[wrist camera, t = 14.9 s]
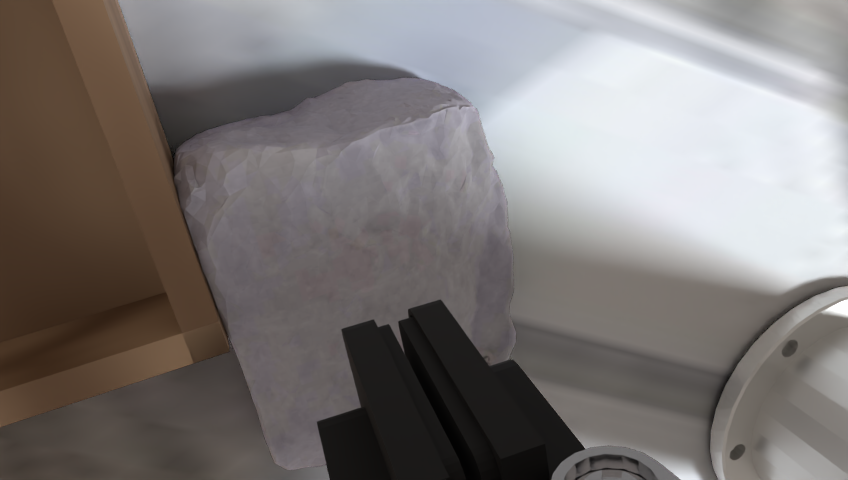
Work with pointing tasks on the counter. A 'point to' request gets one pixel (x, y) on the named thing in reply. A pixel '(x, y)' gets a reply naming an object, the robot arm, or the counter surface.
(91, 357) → the tray
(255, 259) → the stone block
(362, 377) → the robot arm
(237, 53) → the counter surface
